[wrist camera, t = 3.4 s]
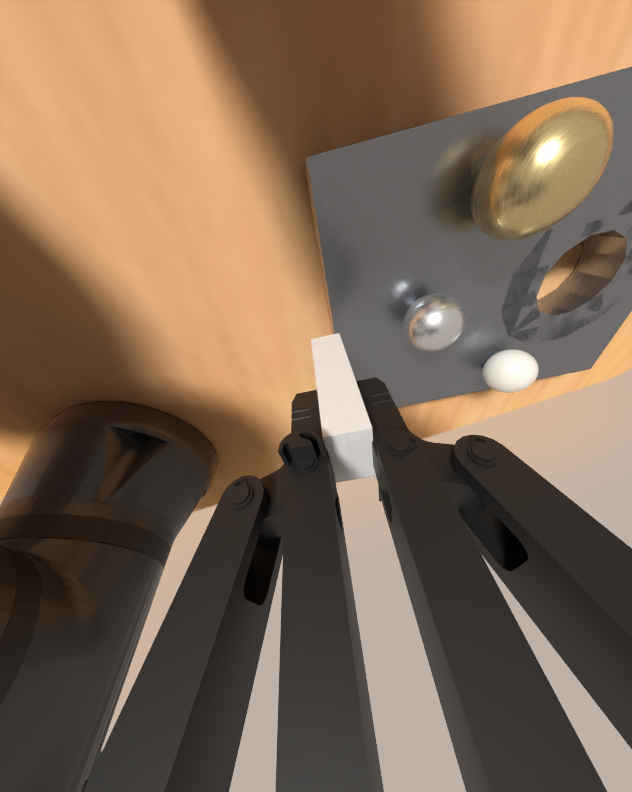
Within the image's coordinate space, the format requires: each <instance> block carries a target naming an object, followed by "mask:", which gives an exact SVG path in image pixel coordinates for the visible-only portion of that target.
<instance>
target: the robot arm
mask: <svg viewBox="0 0 632 792" xmlns="http://www.w3.org/2000/svg"><path fill="white" fill-rule="evenodd" d="M311 344H312V352H313V360H314V369H315V377H316V385H317V390H314V391H309V392H304V393H299V394H296V396H295V398H294V400H293V402H292V428H291V433H290V434H289V435H287V436H286V437H285V438H284V439H283V440H282V442H281V443H280V445H279V449H278V452H279V454H280V456H281V458H282V460H283V462H284V465H283V466H282V467H281V468H280V469H279V470H277V471H275V472H274V473H272V474H270V475H268V476H266V477H264V478H262V479H260V480H259V479H258V478H257V477H254V476H251V475H250V476H243V477H241V478H239V479H237V480H235V481H233V482H232V483H231V484H230V485H229V486H228V487H227V488H226V490H225V492H224V493H223V495H222V497H221V499H220V501H219V503H218V505H217V507H216V510H215V512H214V514H213V516H212V518H211V520H210V522H209V525H208V527H207V529H206V531H205V533H204V535H203V537H202V539H201V542H200V544H199V546H198V548H197V551H196V552H195V554H194V557H193V559H192V561H191V563H190V565H189V567H188V569H187V572H186V574H185V576H184V578H183V580H182V582H181V585H180V587H179V589H178V591H177V593H176V595H175V597H174V599H173V602H172V604H171V606H170V608H169V610H168V613H167V615H166V617H165V619H164V621H163V623H162V625H161V627H160V629H159V631H158V634H157V636H156V638H155V640H154V642H153V644H152V646H151V649H150V651H149V653H148V655H147V657H146V659H145V662H144V664H143V666H142V668H141V670H140V672H139V674H138V677H137V679H136V681H135V683H134V685H133V687H132V689H131V692H130V694H129V696H128V698H127V700H126V702H125V705H124V706H123V709H122V711H121V713H120V715H119V717H118V719H117V721H116V724H115V726H114V728H113V730H112V732H111V734H110V736H109V738H108V741H107V743H106V745H105V747H104V749H103V751H102V752H101V748H102V745H103V742H104V740H105V736H106V734H107V731H108V728H109V725H110V722H111V719H112V716H113V714H114V711H115V708H116V705H117V702H118V699H119V696H120V693H121V691H122V688H123V685H124V682H125V679H126V676H127V673H128V671H129V667H130V665H131V662H132V659H133V656H134V653H135V650H136V648H137V645H138V642H139V639H140V636H141V633H142V630H143V627H144V624H145V622H146V619H147V616H148V613H149V610H150V607H151V604H152V602H153V599H154V596H155V593H156V590H157V587H158V584H159V581H160V579H161V576H162V573H163V569H164V567H165V564H166V560H167V558H168V555H169V552H170V550H171V547H172V544H173V542H174V540H175V538H176V536H177V535H178V533H179V532H180V530H181V529H182V527H183V525H184V524H185V522H186V521H187V519H188V518H189V516H190V515H191V513H192V512H193V510H194V508H195V507H196V505H197V503H198V502H199V500H200V499H201V498H202V497H203V496H204V495H205V493H206V492H207V491H208V489H209V488H210V486H211V484H212V481H213V477H214V474H215V471H216V467H217V455H216V452H215V450H214V448H213V446H212V445H211V444H210V442H209V441H208V440H207V439H206V438H205V437H204V436H203V435H202V434H201V433H200V432H199V431H197V430H196V429H195V428H193V427H192V426H190V425H188V424H187V423H185V422H183V421H181V420H179V419H177V418H175V417H173V416H171V415H168V414H166V413H163V412H160V411H157V410H154V409H151V408H147V407H143V406H138V405H133V404H126V403H117V402H95V403H87V404H81V405H78V406H74V407H71V408H69V409H67V410H65V411H63V412H61V413H60V414H59V415H58V416H56V417H55V418H54V419H53V420H52V421H51V422H50V423H49V424H48V425H46V426H45V427H44V428H43V429H42V430H41V431H40V432H39V433H38V434H37V435H36V437H35V438H34V439H33V441H32V443H31V445H30V447H29V449H28V451H27V453H26V455H25V457H24V459H23V461H22V463H21V465H20V467H19V469H18V471H17V473H16V475H15V477H14V479H13V481H12V483H11V485H10V487H9V489H8V491H7V493H6V495H5V497H4V499H3V501H2V504H1V506H0V792H229V788H230V784H231V780H232V775H233V771H234V767H235V762H236V758H237V753H238V749H239V745H240V740H241V736H242V731H243V727H244V723H245V718H246V714H247V709H248V705H249V700H250V696H251V692H252V687H253V683H254V678H255V674H256V670H257V665H258V661H259V656H260V652H261V648H262V643H263V639H264V635H265V630H266V626H267V621H268V617H269V613H270V608H271V604H272V599H273V595H274V591H275V586H276V582H277V578H278V573H279V569H280V564H281V560H282V556H283V577H282V607H281V641H280V672H279V702H278V703H279V704H278V735H277V766H276V792H384V791H383V784H382V777H381V770H380V764H379V758H378V751H377V744H376V738H375V732H374V725H373V719H372V712H371V706H370V699H369V693H368V686H367V680H366V673H365V666H364V659H363V653H362V646H361V640H360V633H359V627H358V621H357V614H356V607H355V601H354V594H353V588H352V581H351V575H350V568H349V561H348V555H347V549H346V542H345V536H344V529H343V522H342V516H341V509H340V503H339V497H338V494H337V489H336V482H342V481H348V480H353V479H359V478H365V477H371V476H375V473H376V477H377V480H378V484H379V501H382V503H383V507H384V510H385V514H386V517H387V521H388V524H389V527H390V531H391V534H392V538H393V541H394V545H395V548H396V552H397V555H398V558H399V562H400V565H401V569H402V572H403V576H404V579H405V582H406V586H407V589H408V593H409V596H410V599H411V603H412V607H413V610H414V613H415V617H416V620H417V623H418V627H419V631H420V634H421V637H422V641H423V644H424V648H425V651H426V655H427V658H428V661H429V665H430V668H431V672H432V675H433V679H434V682H435V686H436V689H437V692H438V696H439V699H440V703H441V706H442V709H443V713H444V716H445V720H446V723H447V727H448V730H449V734H450V737H451V741H452V743H453V747H454V751H455V754H456V758H457V761H458V765H459V768H460V771H461V774H462V778H463V782H464V785H465V789H466V792H607V790H606V789H605V787H604V785H603V783H602V781H601V779H600V777H599V775H598V774H597V772H596V770H595V768H594V766H593V764H592V762H591V760H590V759H589V757H588V755H587V753H586V751H585V749H584V747H583V745H582V744H581V741H580V740H579V738H578V736H577V734H576V732H575V730H574V728H573V726H572V725H571V723H570V721H569V719H568V717H567V715H566V713H565V711H564V709H563V708H562V706H561V704H560V702H559V700H558V698H557V696H556V694H555V693H554V691H553V689H552V687H551V685H550V683H549V681H548V680H547V677H546V676H545V674H544V672H543V670H542V668H541V666H540V664H539V663H538V661H537V659H536V657H535V655H534V653H533V651H532V649H531V647H530V646H529V644H528V642H527V640H526V638H525V636H524V634H523V632H522V631H521V629H520V627H519V625H518V623H517V621H516V619H515V617H514V615H513V614H512V612H511V610H510V608H509V606H508V604H507V602H506V600H505V599H504V597H503V595H502V593H501V591H500V589H499V587H498V585H497V584H496V581H495V580H494V578H493V576H492V574H491V572H490V570H489V568H488V566H487V565H486V563H485V561H484V559H483V557H482V555H483V556H484V558H485V559H486V561H487V562H488V563H489V565H490V566H491V567H492V568H493V570H494V571H495V572H496V573H497V575H498V576H499V578H500V579H501V580H502V581H503V583H504V584H505V585H506V587H507V588H508V589H509V590H510V592H511V593H512V594H513V596H514V597H515V598H516V600H517V601H518V602H519V603H520V605H521V606H522V607H523V609H524V610H525V611H526V612H527V614H528V615H529V616H530V618H531V619H532V620H533V622H534V623H535V624H536V625H537V627H538V628H539V629H540V631H541V632H542V633H543V635H544V636H545V637H546V638H547V640H548V641H549V642H550V644H551V645H552V646H553V648H554V649H555V650H556V651H557V653H558V654H559V655H560V657H561V658H562V659H563V661H564V662H565V663H566V664H567V665H568V667H569V668H570V669H571V671H572V672H573V674H574V675H575V676H576V677H577V679H578V680H579V681H580V682H581V684H582V685H583V686H584V688H585V689H586V690H587V692H588V693H589V694H590V696H591V697H592V698H593V699H594V701H595V702H596V703H597V705H598V706H599V707H600V709H601V710H602V711H603V712H604V714H605V715H606V716H607V717H608V719H609V720H610V722H611V723H612V724H613V725H614V727H615V728H616V729H617V731H618V732H619V733H620V734H621V736H622V737H623V738H624V740H625V741H626V742H627V744H628V745H629V746H630V747H631V749H632V549H631V548H630V547H629V546H627V545H626V544H625V543H624V542H623V541H622V540H620V539H619V538H618V537H616V536H615V535H614V534H613V533H611V532H610V531H609V530H608V529H607V528H605V527H604V526H603V525H601V524H600V523H599V522H598V521H596V520H595V519H594V518H593V517H592V516H590V515H589V514H588V513H587V512H585V511H584V510H583V509H582V508H580V507H579V506H578V505H577V504H575V503H574V502H573V501H572V500H570V499H569V498H568V497H567V496H565V495H564V494H563V493H562V492H560V491H559V490H558V489H557V488H556V487H554V486H553V485H552V484H551V483H549V482H548V481H547V480H546V479H544V478H543V477H542V476H541V475H539V474H538V473H537V472H535V471H534V470H533V469H532V468H531V467H529V466H528V465H527V464H525V463H524V462H523V461H522V460H520V459H519V458H518V457H517V456H516V455H514V454H513V453H512V452H511V451H509V450H508V449H507V448H505V447H504V446H503V445H502V444H500V443H498V442H497V441H495V440H493V439H491V438H488V437H484V436H479V435H469V436H464V437H462V438H460V439H459V440H457V441H456V444H455V445H452V444H441V443H432V442H427V441H424V440H422V439H420V438H418V437H417V436H416V435H414V434H412V433H411V432H410V431H409V429H408V428H407V426H406V424H405V422H404V420H403V418H402V416H401V414H400V412H399V410H398V408H397V407H396V405H395V403H394V401H393V399H392V397H391V395H390V394H389V391H388V389H387V387H386V385H385V383H384V382H382V381H381V380H380V379H378V378H377V377H374V378H369V379H364V380H359V381H356V380H355V377H354V374H353V371H352V368H351V365H350V362H349V360H348V357H347V354H346V351H345V348H344V345H343V342H342V340H341V337H340V334H339V333H337V334H333V335H328V336H323V337H319V338H314V339H311ZM481 554H482V555H481Z"/></svg>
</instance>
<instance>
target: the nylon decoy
mask: <svg viewBox="0 0 632 792" xmlns="http://www.w3.org/2000/svg"><path fill="white" fill-rule="evenodd" d="M538 371H539V368H538V364H537V361H536V360H535V358H534V357H533V356H531V355H530V354H529V353H527V352H524V351H521V350H515V349H510V350H504V351H500V352H498V353H496V354H494V355H492V356H491V357H490V358H489V359H488V360H487V361H486V362H485V364H484V366H483V370H482V375H483V378H484V381H485V382H486V384H487V385H488V386H490V387H491V388H493V389H494V390H497V391H500V392H507V393H509V392H517V391H521V390H523V389H525V388H527V387H529V386H530V385H531V384H532V383H533V382H534V381H535V380H536V378H537V376H538Z"/></svg>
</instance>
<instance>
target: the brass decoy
mask: <svg viewBox="0 0 632 792" xmlns="http://www.w3.org/2000/svg"><path fill="white" fill-rule="evenodd" d="M613 144H614V125H613V121H612V118H611V116H610V114H609V112H608V110H607V109H606V108H605V107H604V106H603V105H601V104H600V103H599V102H597V101H595V100H592V99H589V98H585V97H569V98H564V99H560V100H556V101H553V102H551V103H548V104H546V105H544V106H542V107H540V108H538V109H536V110H534V111H532V112H531V113H529V114H528V115H527V116H525V117H524V118H522V119H521V120H519V121H518V122H517V123H516V124H515V125H514V126H512V127H511V128H510V129H509V130H508V131H507V132H506V133H505V134H504V135H503V136H502V137H501V138H500V139H499V141H498V142H497V143H496V144H495V145H494V147H493V148H492V150H491V151H490V152H489V154H488V155H487V157H486V159H485V160H484V162H483V164H482V166H481V167H480V169H479V172H478V174H477V176H476V179H475V182H474V185H473V189H472V195H471V212H472V216H473V219H474V222H475V224H476V225H477V227H478V228H479V229H480V230H481V231H482V232H483V233H484V234H486V235H487V236H489V237H491V238H494V239H497V240H506V241H509V240H518V239H524V238H527V237H530V236H533V235H536V234H538V233H540V232H542V231H545V230H546V229H548V228H550V227H552V226H553V225H555V224H556V223H558V222H559V221H561V220H562V219H564V218H565V217H566V216H567V215H569V214H570V213H571V212H572V211H573V210H574V209H575V208H576V207H577V206H578V205H579V204H580V203H581V202H582V201H583V200H584V199H585V198H586V197H587V196H588V195H589V193H590V192H591V191H592V189H593V188H594V187H595V185H596V184H597V182H598V181H599V179H600V177H601V176H602V174H603V172H604V170H605V168H606V166H607V164H608V161H609V159H610V156H611V153H612V149H613Z"/></svg>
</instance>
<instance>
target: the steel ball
mask: <svg viewBox="0 0 632 792" xmlns="http://www.w3.org/2000/svg"><path fill="white" fill-rule="evenodd" d="M465 321H466V316H465V311H464V308H463V306H462V304H461V303H460V302H459V301H458V300H457V299H456V298H455V297H453V296H451V295H448V294H444V293H433V294H428V295H426V296H423V297H421V298H419V299H418V300H417V301H415V302H414V303H413V304H412V305H411V306H410V308H409V309H408V310H407V312H406V314H405V317H404V320H403V333H404V336H405V338H406V340H407V341H408V343H409V344H410V345H412V346H413V347H414V348H416V349H418V350H421V351H426V352H434V351H439V350H442V349H444V348H447V347H448V346H450V345H451V344H453V343H454V342H455V341H456V340H457V339H458V338H459V336H460V335H461V333H462V331H463V329H464V326H465Z"/></svg>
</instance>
